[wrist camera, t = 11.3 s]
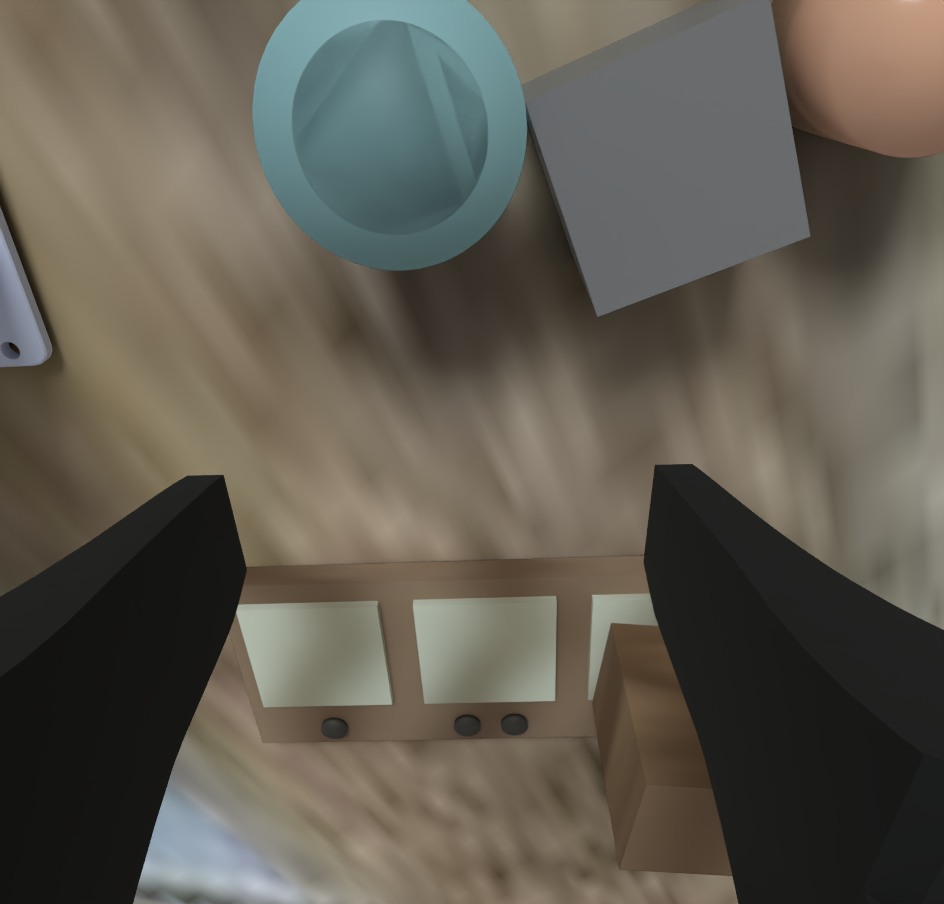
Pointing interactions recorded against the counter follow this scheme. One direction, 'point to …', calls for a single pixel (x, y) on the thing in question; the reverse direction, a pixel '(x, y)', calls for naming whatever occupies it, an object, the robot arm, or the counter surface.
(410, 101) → the teal spool
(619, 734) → the walnut block
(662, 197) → the charcoal cube
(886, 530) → the counter surface
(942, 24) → the peach round blob
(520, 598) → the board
